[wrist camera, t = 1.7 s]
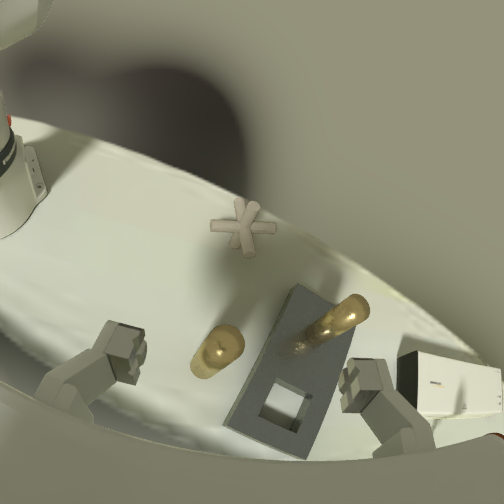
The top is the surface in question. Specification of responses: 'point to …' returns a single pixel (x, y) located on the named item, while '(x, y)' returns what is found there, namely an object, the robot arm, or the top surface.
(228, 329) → the brass pin
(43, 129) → the top surface
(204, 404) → the top surface
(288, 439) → the bolt plate
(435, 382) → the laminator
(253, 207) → the pipe connector
